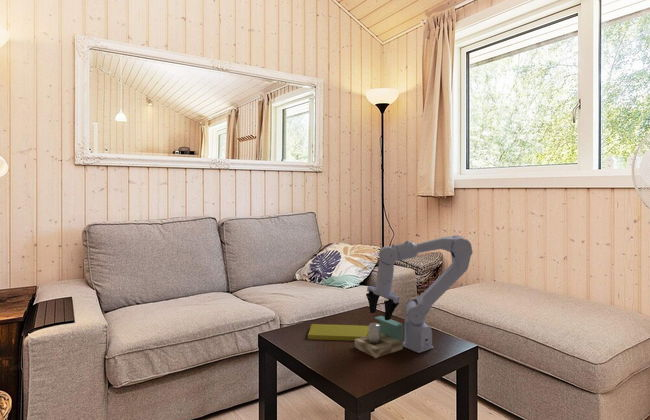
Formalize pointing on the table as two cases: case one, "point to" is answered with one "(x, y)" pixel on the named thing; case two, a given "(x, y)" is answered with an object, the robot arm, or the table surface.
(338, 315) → the table surface
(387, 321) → the teal block
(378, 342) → the peg
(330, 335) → the flat olive board
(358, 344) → the socket block
